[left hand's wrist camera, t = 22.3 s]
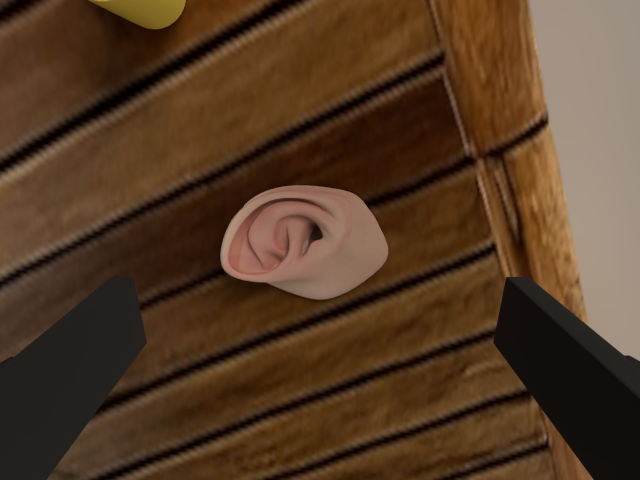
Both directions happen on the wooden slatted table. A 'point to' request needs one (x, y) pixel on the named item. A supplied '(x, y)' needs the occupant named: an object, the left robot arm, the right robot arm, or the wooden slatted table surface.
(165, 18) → the cylinder
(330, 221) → the anatomical model
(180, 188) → the wooden slatted table surface
